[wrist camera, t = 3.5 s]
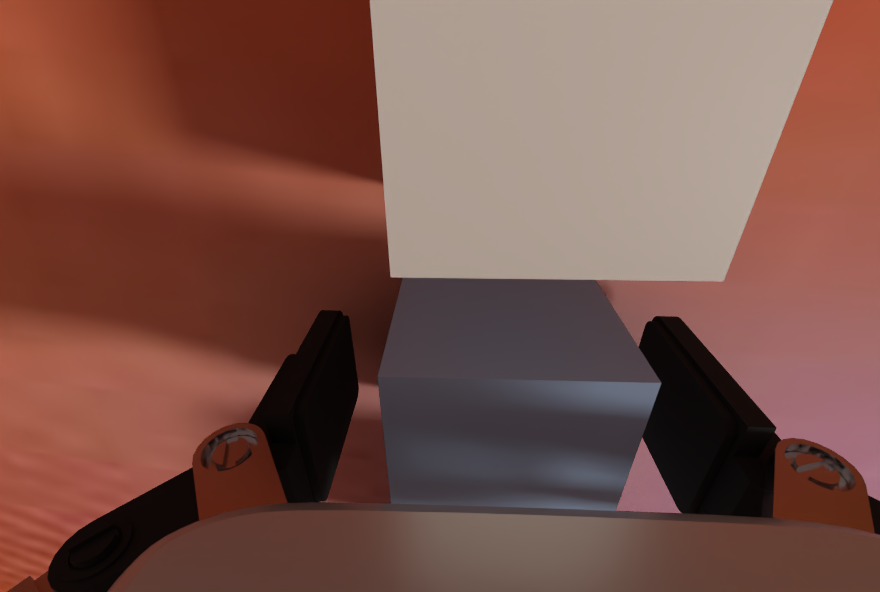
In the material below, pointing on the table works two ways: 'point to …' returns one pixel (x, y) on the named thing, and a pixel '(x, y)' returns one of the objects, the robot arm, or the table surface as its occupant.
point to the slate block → (511, 394)
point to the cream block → (580, 132)
